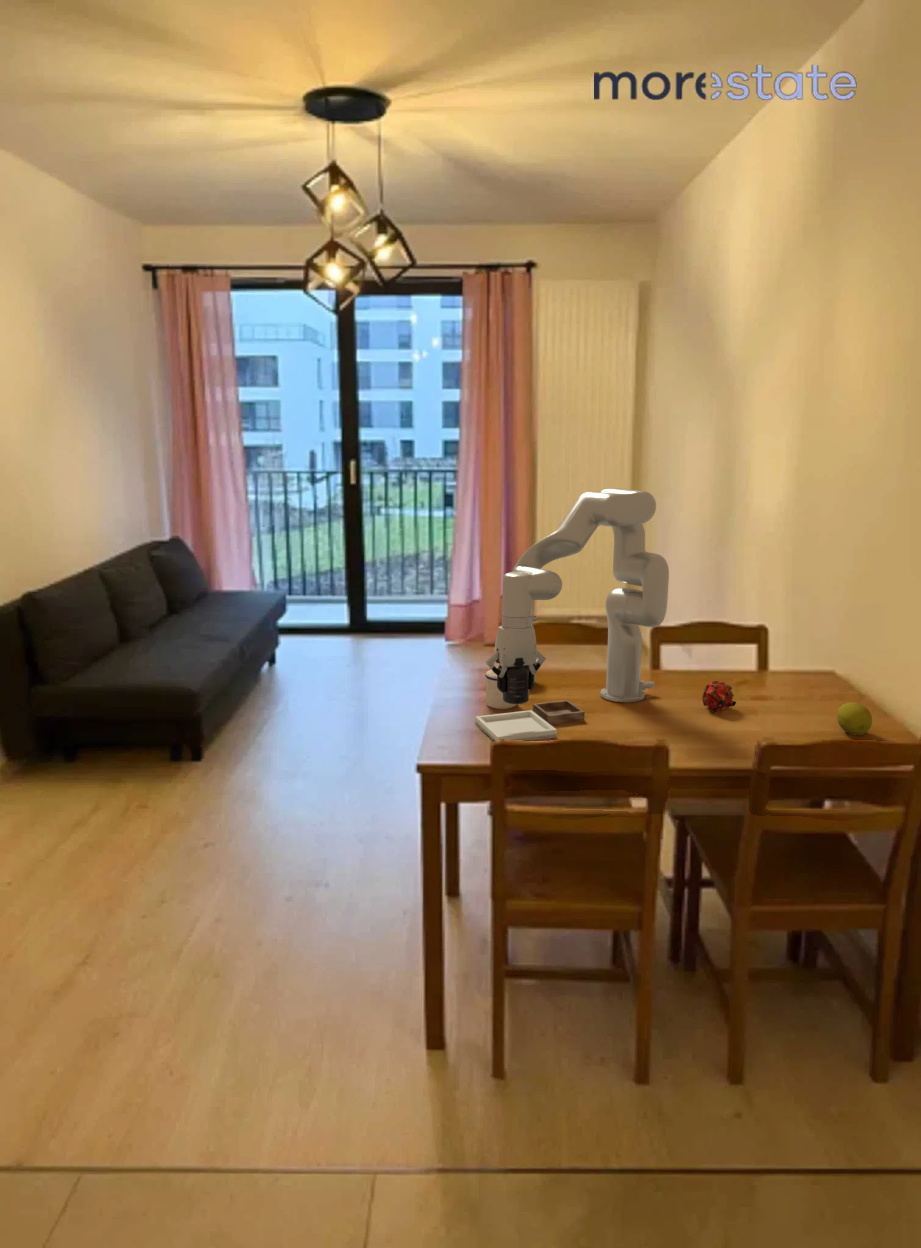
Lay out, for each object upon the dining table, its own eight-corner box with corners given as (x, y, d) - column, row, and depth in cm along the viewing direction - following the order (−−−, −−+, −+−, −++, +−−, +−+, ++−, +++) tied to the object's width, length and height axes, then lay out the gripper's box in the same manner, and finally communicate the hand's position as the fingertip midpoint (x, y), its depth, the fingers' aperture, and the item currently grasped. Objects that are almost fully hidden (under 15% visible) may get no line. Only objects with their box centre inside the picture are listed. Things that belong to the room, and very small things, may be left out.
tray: (531, 717, 245) (531, 710, 245) (556, 737, 231) (556, 729, 230) (475, 723, 240) (475, 716, 240) (497, 744, 226) (497, 737, 225)
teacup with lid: (517, 710, 251) (517, 669, 248) (484, 709, 252) (484, 668, 249) (518, 696, 263) (519, 657, 260) (486, 695, 263) (487, 656, 261)
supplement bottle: (500, 696, 236) (501, 652, 234) (526, 696, 237) (527, 651, 234) (503, 705, 230) (504, 659, 227) (530, 704, 230) (531, 658, 228)
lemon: (875, 741, 228) (879, 710, 226) (843, 740, 229) (846, 709, 227) (861, 726, 239) (864, 697, 237) (830, 725, 239) (833, 696, 237)
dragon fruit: (715, 707, 258) (722, 727, 247) (692, 690, 257) (697, 710, 246) (736, 685, 255) (743, 705, 244) (712, 668, 254) (719, 687, 243)
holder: (567, 708, 252) (567, 700, 252) (584, 720, 243) (584, 711, 242) (532, 712, 249) (532, 704, 248) (548, 725, 239) (548, 716, 239)
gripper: (542, 616, 235) (540, 682, 239) (479, 620, 229) (478, 688, 233) (554, 622, 228) (552, 690, 232) (489, 627, 222) (488, 697, 227)
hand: (515, 689), depth 233 cm, fingers closed on supplement bottle, 6 cm apart
